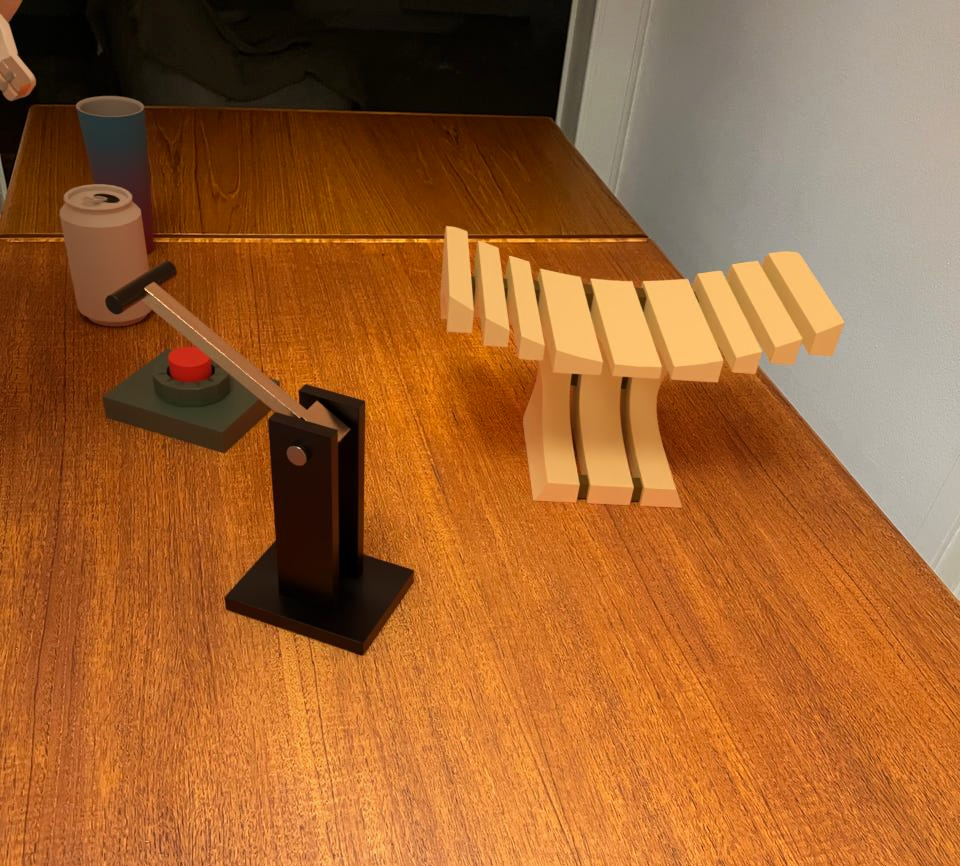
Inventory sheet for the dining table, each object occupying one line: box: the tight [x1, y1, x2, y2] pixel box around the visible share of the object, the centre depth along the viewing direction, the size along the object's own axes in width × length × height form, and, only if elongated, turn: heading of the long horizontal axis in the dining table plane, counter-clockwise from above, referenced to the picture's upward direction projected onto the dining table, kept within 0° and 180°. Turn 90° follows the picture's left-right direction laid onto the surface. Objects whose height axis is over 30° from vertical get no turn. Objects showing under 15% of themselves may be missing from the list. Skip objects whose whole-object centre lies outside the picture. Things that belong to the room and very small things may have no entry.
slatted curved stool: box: [439, 225, 845, 509], centre depth 87 cm, size 30×16×18 cm, turn 92°
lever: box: [105, 260, 350, 445], centre depth 64 cm, size 16×6×2 cm, turn 68°
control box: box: [101, 348, 281, 454], centre depth 91 cm, size 12×10×4 cm
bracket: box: [224, 383, 415, 656], centre depth 70 cm, size 11×9×16 cm
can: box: [59, 183, 153, 327], centre depth 100 cm, size 8×8×12 cm
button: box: [168, 346, 212, 382], centre depth 89 cm, size 4×4×2 cm
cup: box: [75, 95, 155, 255], centre depth 110 cm, size 7×7×15 cm
